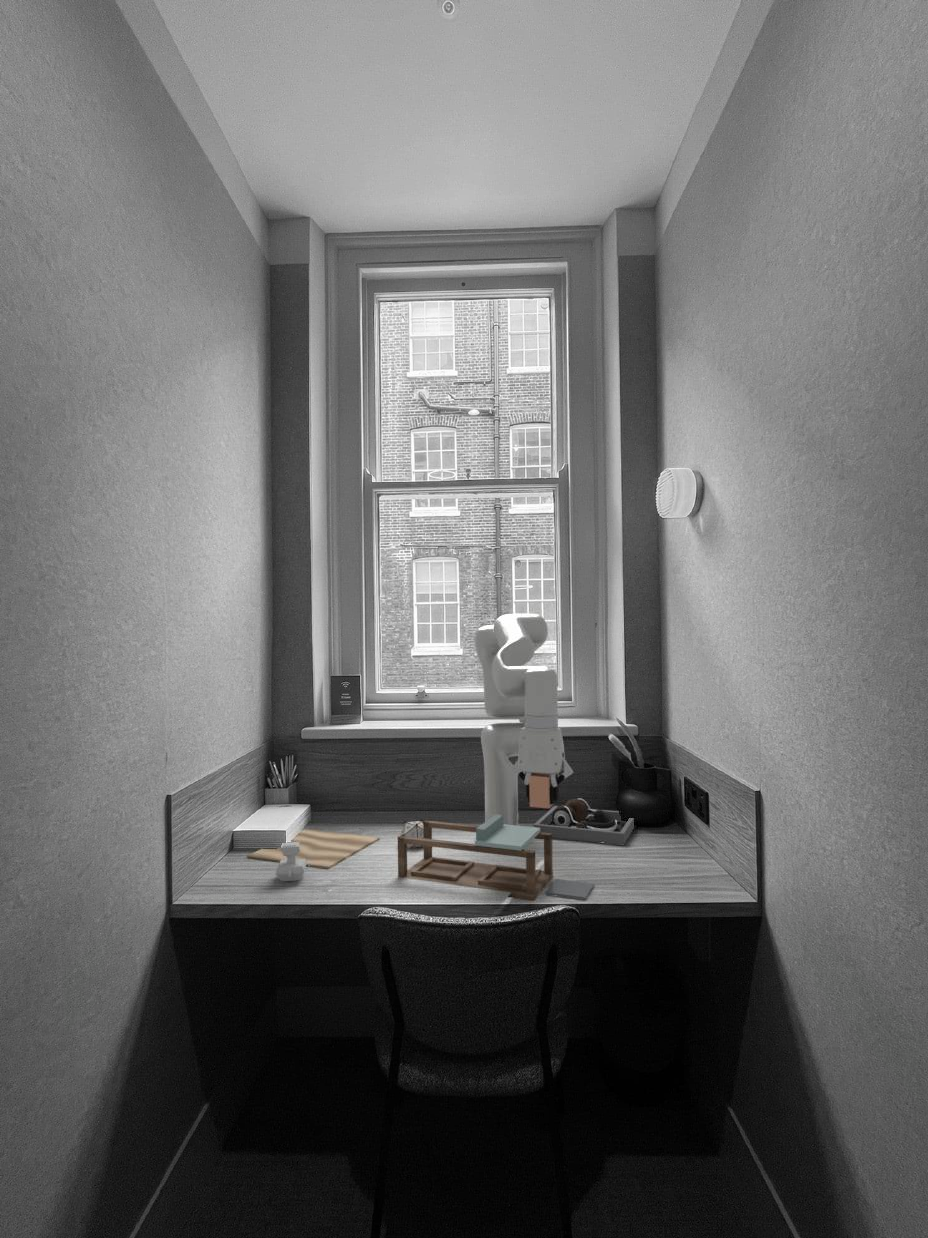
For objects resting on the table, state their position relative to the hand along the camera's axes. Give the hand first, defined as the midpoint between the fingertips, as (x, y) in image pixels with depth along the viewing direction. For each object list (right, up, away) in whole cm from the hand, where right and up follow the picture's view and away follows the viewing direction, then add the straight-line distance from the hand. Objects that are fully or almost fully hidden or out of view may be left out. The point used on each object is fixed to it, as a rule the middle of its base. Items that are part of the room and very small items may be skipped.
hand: (542, 801), depth 165 cm
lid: (-8, -9, +3) cm, 12 cm away
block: (0, -1, 0) cm, 1 cm away
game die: (-31, -20, +28) cm, 47 cm away
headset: (+19, -20, +46) cm, 53 cm away
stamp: (-59, -21, +8) cm, 63 cm away
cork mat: (-58, -21, +31) cm, 69 cm away
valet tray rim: (+18, -20, +45) cm, 52 cm away
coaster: (+6, -20, -2) cm, 21 cm away
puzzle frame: (-16, -20, +6) cm, 26 cm away
